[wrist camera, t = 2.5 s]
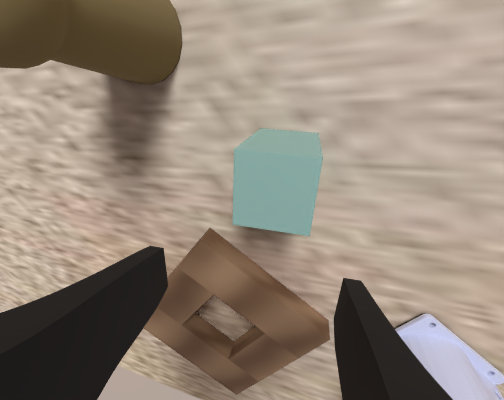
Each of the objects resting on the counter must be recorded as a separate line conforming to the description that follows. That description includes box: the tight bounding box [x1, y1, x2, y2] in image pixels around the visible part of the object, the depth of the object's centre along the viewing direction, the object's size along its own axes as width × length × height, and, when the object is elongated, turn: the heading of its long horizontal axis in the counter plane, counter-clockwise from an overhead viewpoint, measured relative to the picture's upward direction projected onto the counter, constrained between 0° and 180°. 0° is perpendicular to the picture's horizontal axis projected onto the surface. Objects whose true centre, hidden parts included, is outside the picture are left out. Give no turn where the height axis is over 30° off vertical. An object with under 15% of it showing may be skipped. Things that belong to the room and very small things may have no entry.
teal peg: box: [233, 128, 323, 236], centre depth 15 cm, size 4×4×7 cm
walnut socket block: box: [144, 228, 330, 395], centre depth 25 cm, size 14×14×2 cm
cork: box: [0, 0, 182, 84], centre depth 12 cm, size 6×6×11 cm
